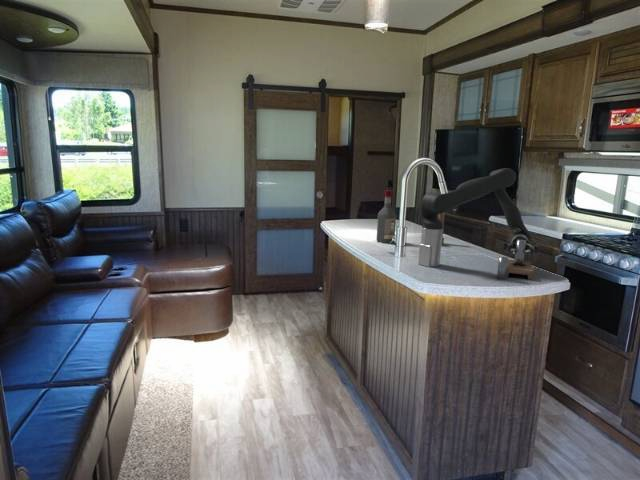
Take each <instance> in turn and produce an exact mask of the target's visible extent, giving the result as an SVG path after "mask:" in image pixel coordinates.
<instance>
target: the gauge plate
mask: <svg viewBox="0 0 640 480" xmlns="http://www.w3.org/2000/svg"><path fill="white" fill-rule="evenodd" d="M514 262H515V259H508V265H507V274H506V278H509V276H510V275H509V274H514V273H515V274H514V275H518V274H521V275H524V276H527V277H526V278H527V281H532V275H533V269H532V262H531V261H525V260H524V262H523V266H514Z"/></svg>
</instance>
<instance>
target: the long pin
mask: <svg viewBox="0 0 640 480" xmlns="http://www.w3.org/2000/svg"><path fill="white" fill-rule="evenodd" d="M525 244H526V240H521V239H518V240H517V244H516V252H515V253H514V254H515V255H514V260H515V262H514V266H523V262H524V261H525V254H526V253H525ZM513 274H514V275H516V274H515V273H513ZM517 275H522V274H517Z"/></svg>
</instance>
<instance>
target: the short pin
mask: <svg viewBox="0 0 640 480" xmlns="http://www.w3.org/2000/svg"><path fill="white" fill-rule="evenodd" d="M508 260H509V257H506V256H499V257H498V263H497V272H496V280H500V281H501V280H503V281H505V280H507V277H506V274H507V265H508Z"/></svg>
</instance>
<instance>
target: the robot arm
mask: <svg viewBox="0 0 640 480" xmlns="http://www.w3.org/2000/svg"><path fill="white" fill-rule="evenodd" d="M516 179H517V173H516V172H515V170H513V169H511V168H507V167H504V168H500V169H499V168H498V169H496V170H493V171H491V172H490V173H489V175H487V176H482V177H477V178H472V179H469V180H467V181H465V182H462V183H460V184H459V185H458V186H457V187H456V189H455V190H452V191H450V192H445V193H437V192H436V193H435V192H427V193H426V194H424V196H423V197H422V200H421V204H420V205H421V206H420V209H421V211H420V221H421V227H422V228H421V238H420V244H419V248H418V261H417V263H418V265H421V266H425V267H429V268H430V267H439V266H440V265H441V255H442V254H441V251H442V244H441V243H442V232H443V233H444V228H443V223H442V222H441V221H440V220H439V218H438V214H442V213H445V214H446V212H448V211H450V210H452V209H454V208H455V207H458V206H461V205H463V204H466V203H468V202H472V201H474V200H477V199H479V198H481V197H484V196H487V195H488V194H489V193H492V192H493V193H494V195H495V197H496V198H497V201H498V203H499V205H500V206H501V209H502V211H503V215H504V217H505V221H506V223H507V227H508V228H509V229H519V230H518V231H514V232H511V233H509V234H508V235H507V236H508V237H507V238H508V239H507V241H508V242H507V241H504V242H503V245H502V249H503V250H507V251H508V252H511V251H512V252H515V253H516V244H517V240H518V239H521V240H526V244H525V252H526V253H530V254H534V253H539V245H538V244H533V245H532V244H530V243H531V242H532V240H533V238H532V235H531V232H530V231H529V230H528V228H527V227H526V225H525V223H524V222H523V218H522V215H521V212H520V209H519V206H517V204H516V203H515V202H514V201H513V200H512V199H511V197H510V196H509V195H508V192H507V190H506V188H509V187H512V186H513V185H514V183H515V182H516Z"/></svg>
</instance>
